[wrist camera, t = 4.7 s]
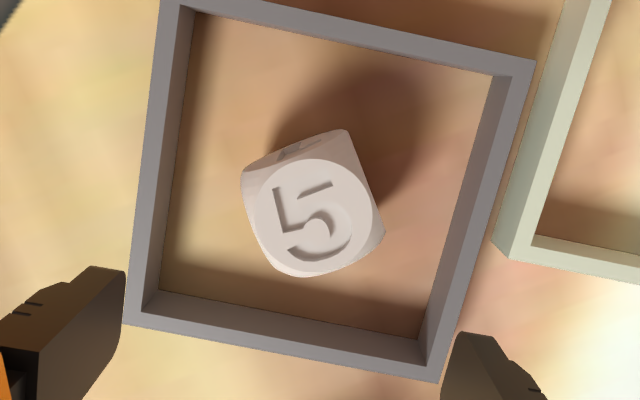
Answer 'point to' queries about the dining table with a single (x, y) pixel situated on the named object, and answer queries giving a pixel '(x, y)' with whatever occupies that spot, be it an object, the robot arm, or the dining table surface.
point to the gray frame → (290, 331)
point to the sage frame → (557, 155)
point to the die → (312, 206)
